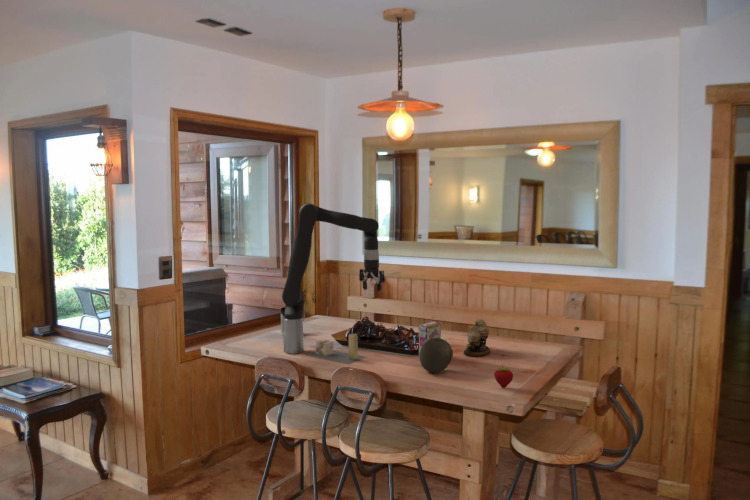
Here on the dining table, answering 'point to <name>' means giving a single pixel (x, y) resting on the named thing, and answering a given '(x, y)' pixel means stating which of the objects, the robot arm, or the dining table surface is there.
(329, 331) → the dining table surface
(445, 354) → the coconut
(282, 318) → the glass holder
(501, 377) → the strawberry
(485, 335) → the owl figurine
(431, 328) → the candy bar box
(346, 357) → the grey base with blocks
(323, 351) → the cube
